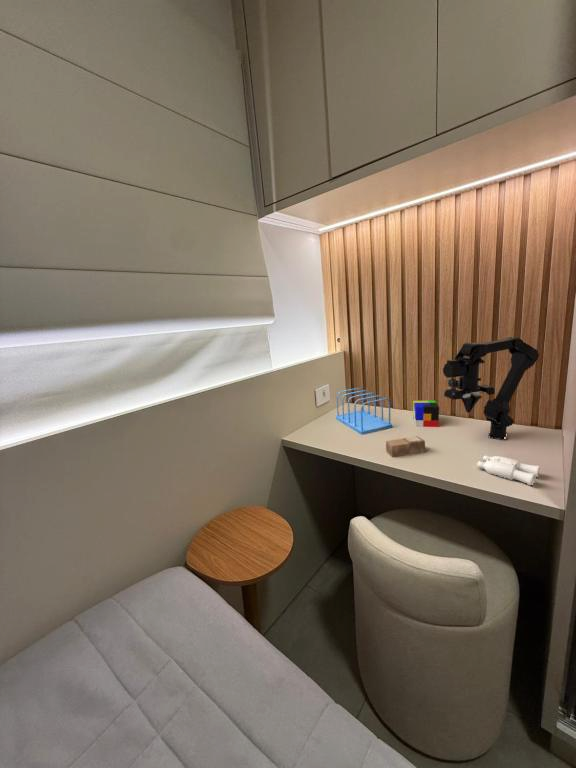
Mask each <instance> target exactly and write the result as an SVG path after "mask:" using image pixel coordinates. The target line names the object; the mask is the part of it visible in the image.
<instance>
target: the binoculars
mask: <svg viewBox="0 0 576 768" xmlns="http://www.w3.org/2000/svg"><path fill="white" fill-rule="evenodd" d="M476 467H477V468H479V469H482V470H484V471H486V472H487V473H488V474H489V473H491V474H490V475H492V474H494V475H493V476H495V475H498V476H501V477H500V478H502V477H504V478H503V479H505V478H508V479H512V480H516V481H519V482H522V483H523V484H526V483H527V485H528V486H530V485H531V484H532V483H533V481H534V483H535V482H536V479H537V478H536V477H538V478H539V475H538V473H539V474H540V471H541V470H540V468H541V467H540V465H532V464H526V463H522V462H520V461H519V460H516V459H513V458H509V457H505V456H500V455H493V456H490V455H489V456H488V455H483V459H482V461H480V460H479V461H478V462H477V464H476ZM498 476H497V477H498ZM508 479H507V480H508Z"/></svg>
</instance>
